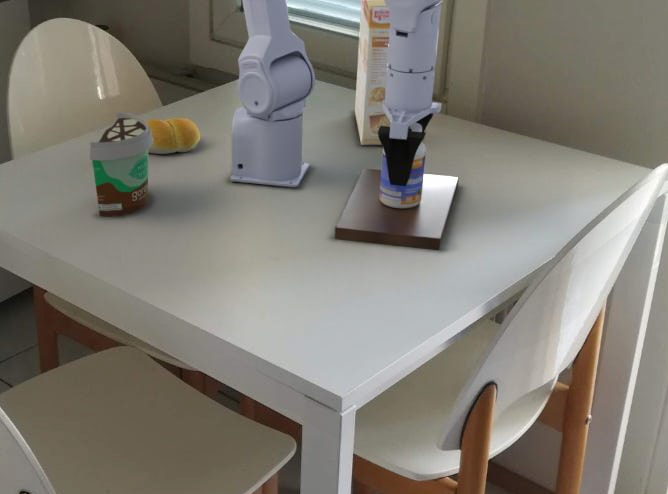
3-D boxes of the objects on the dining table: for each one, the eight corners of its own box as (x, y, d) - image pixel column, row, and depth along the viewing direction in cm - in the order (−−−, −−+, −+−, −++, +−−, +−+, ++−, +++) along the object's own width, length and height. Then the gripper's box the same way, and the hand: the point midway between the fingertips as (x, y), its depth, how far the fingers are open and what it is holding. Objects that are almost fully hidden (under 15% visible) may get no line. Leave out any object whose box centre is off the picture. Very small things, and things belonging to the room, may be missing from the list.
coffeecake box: (408, 146, 162) (420, 5, 150) (359, 146, 162) (368, 5, 150) (399, 111, 173) (409, -22, 161) (353, 111, 174) (360, -22, 162)
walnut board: (334, 238, 137) (335, 227, 136) (363, 178, 152) (363, 167, 151) (439, 250, 134) (440, 238, 133) (457, 187, 149) (459, 176, 148)
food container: (142, 224, 140) (137, 147, 134) (96, 220, 141) (88, 143, 135) (167, 186, 150) (163, 113, 144) (123, 183, 151) (118, 110, 145)
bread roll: (207, 151, 160) (206, 123, 158) (147, 158, 158) (146, 131, 156) (190, 132, 167) (189, 105, 164) (132, 139, 164) (131, 112, 162)
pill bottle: (410, 212, 139) (416, 137, 133) (371, 203, 141) (377, 128, 136) (428, 198, 143) (435, 123, 137) (390, 189, 145) (396, 115, 139)
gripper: (436, 87, 125) (425, 200, 134) (451, 51, 136) (440, 157, 145) (375, 82, 127) (368, 195, 135) (395, 46, 138) (387, 153, 146)
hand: (402, 175), depth 140 cm, fingers closed on pill bottle, 5 cm apart
